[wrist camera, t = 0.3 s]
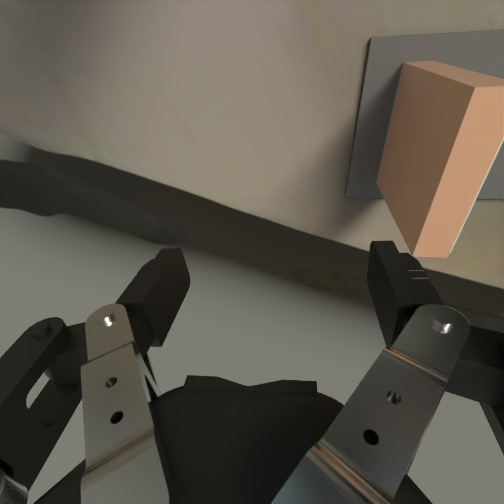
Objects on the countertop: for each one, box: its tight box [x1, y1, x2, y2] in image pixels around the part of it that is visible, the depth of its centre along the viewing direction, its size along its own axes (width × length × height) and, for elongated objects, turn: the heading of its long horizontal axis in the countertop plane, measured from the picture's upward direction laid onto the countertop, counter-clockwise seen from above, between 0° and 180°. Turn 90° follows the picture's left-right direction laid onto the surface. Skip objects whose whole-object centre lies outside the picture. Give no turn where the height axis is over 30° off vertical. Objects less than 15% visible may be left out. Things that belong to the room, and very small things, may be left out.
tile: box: [376, 61, 504, 257], centre depth 25 cm, size 3×12×14 cm, turn 3°
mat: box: [345, 30, 504, 199], centre depth 30 cm, size 23×16×1 cm
